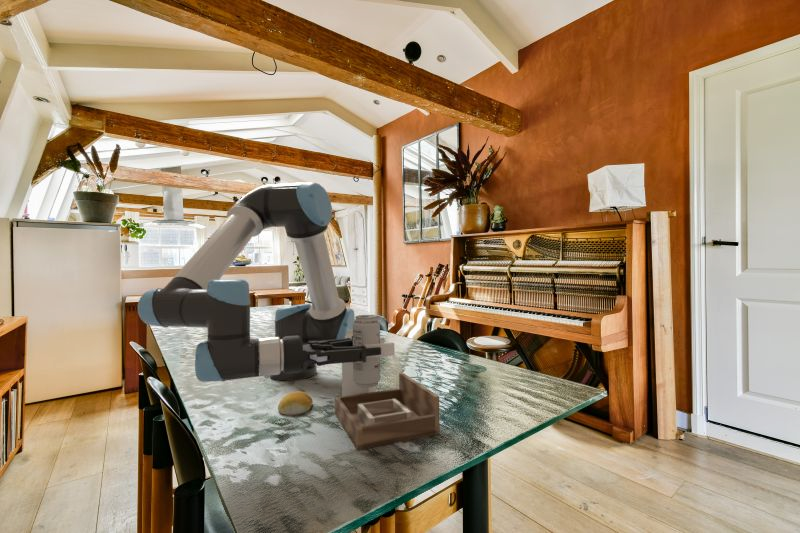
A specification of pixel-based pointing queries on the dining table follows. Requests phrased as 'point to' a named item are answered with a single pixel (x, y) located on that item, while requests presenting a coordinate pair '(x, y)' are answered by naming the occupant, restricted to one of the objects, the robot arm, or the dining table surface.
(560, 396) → the dining table surface
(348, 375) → the milk carton
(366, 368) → the energy drink can
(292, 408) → the bread roll
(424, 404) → the walled box
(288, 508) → the dining table surface
